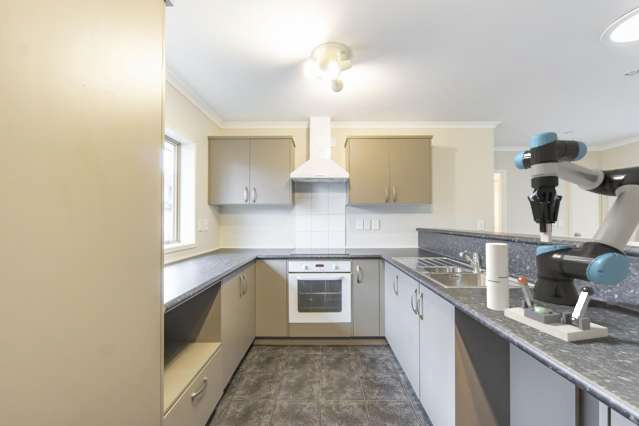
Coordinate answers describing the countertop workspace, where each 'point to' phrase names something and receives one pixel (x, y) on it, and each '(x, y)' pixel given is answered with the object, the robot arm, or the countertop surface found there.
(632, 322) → the countertop surface
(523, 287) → the lever
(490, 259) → the cylindrical container
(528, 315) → the panel
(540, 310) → the button
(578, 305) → the lever
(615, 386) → the countertop surface
